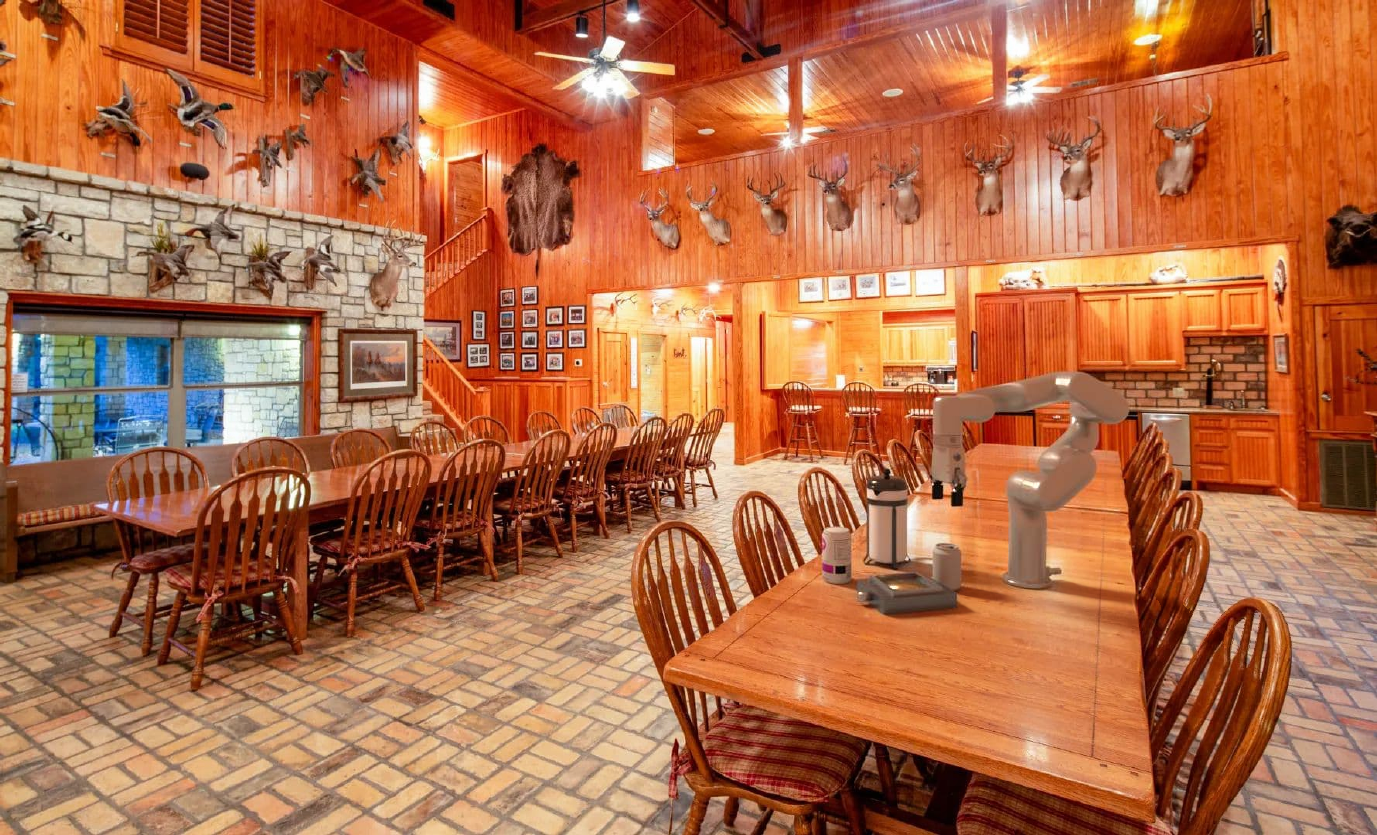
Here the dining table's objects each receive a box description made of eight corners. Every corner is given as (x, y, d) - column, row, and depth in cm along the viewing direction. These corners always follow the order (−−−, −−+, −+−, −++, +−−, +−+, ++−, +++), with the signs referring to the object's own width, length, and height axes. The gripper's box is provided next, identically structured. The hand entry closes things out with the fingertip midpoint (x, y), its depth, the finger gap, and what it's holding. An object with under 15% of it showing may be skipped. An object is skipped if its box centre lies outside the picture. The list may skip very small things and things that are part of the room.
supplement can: (820, 583, 194) (819, 531, 193) (825, 574, 201) (825, 525, 200) (848, 586, 191) (848, 534, 189) (853, 577, 198) (852, 527, 197)
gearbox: (924, 587, 188) (924, 569, 187) (956, 608, 172) (957, 588, 172) (846, 594, 184) (846, 575, 183) (872, 615, 168) (872, 595, 168)
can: (963, 592, 183) (964, 549, 182) (934, 591, 185) (934, 548, 184) (958, 583, 191) (958, 542, 190) (930, 582, 192) (930, 541, 191)
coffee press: (922, 569, 204) (922, 471, 202) (869, 570, 204) (868, 472, 202) (904, 553, 221) (904, 463, 219) (855, 554, 221) (855, 464, 219)
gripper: (978, 443, 177) (977, 508, 178) (943, 437, 194) (942, 495, 195) (952, 445, 175) (951, 510, 177) (918, 438, 192) (918, 497, 194)
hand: (947, 502), depth 186 cm, fingers open, 9 cm apart
